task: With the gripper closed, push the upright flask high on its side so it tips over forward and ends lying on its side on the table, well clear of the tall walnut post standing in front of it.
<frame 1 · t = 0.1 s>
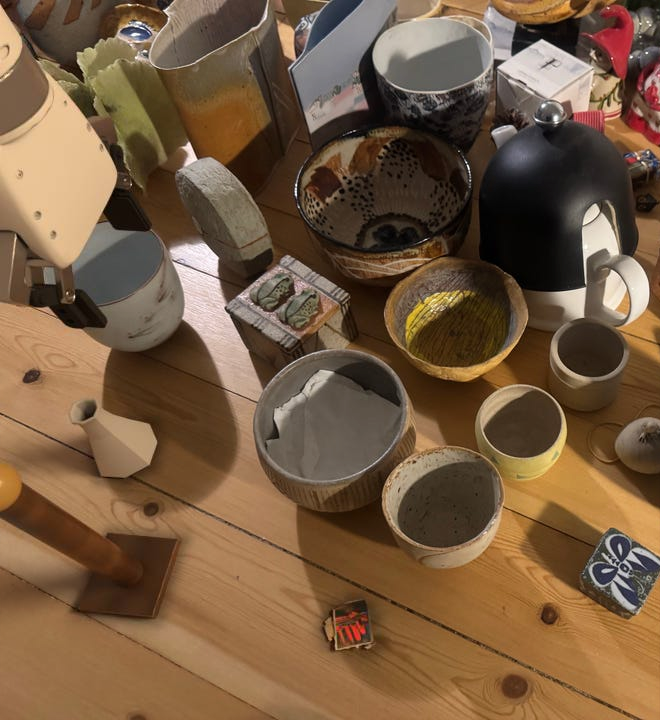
hand: (112, 273, 56), 31 cm above the table, tool pointing down, fingers open, 9 cm apart
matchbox: (350, 626, 72), on the table
flask: (127, 451, 83), on the table
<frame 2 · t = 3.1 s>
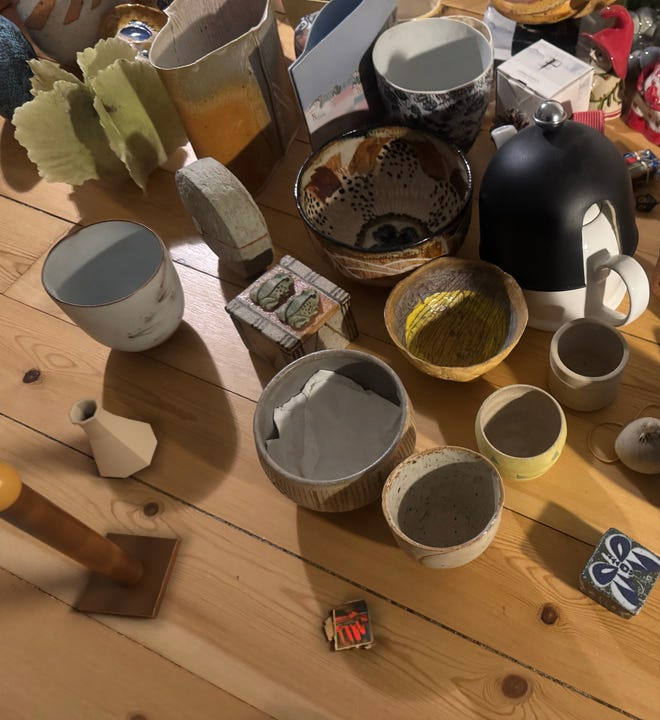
nothing on the table moved.
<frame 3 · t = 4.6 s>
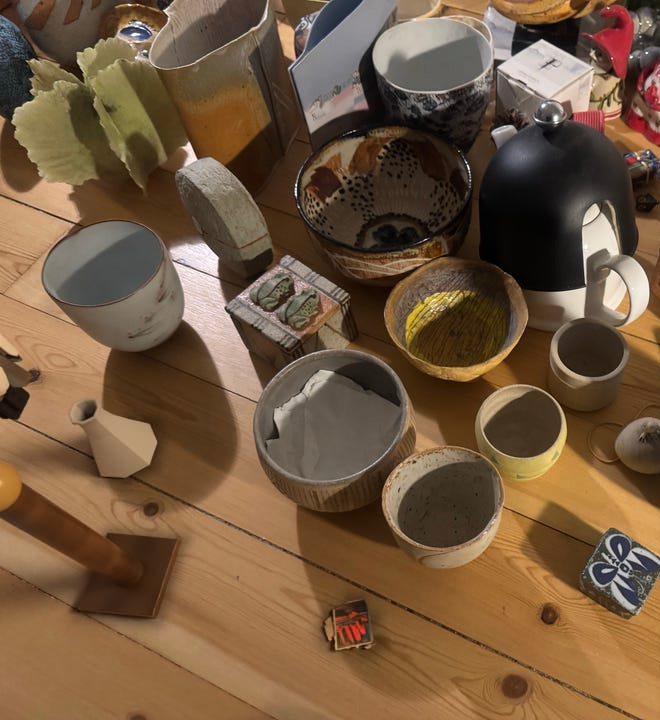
hand: (17, 407, 76), 10 cm above the table, tool pointing down, fingers closed
nothing on the table moved.
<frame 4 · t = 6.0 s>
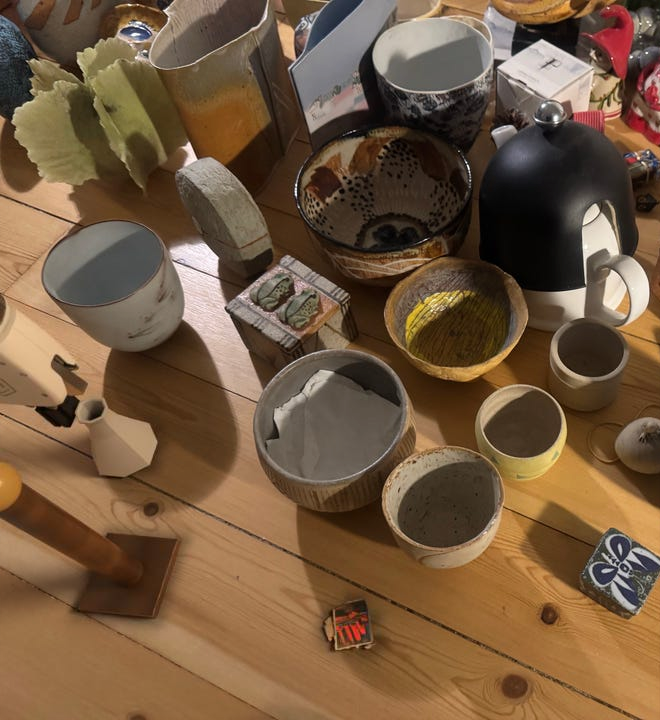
hand: (69, 415, 76), 9 cm above the table, tool pointing down, fingers closed
flask: (126, 450, 83), on the table, touching gripper
everything else where it was.
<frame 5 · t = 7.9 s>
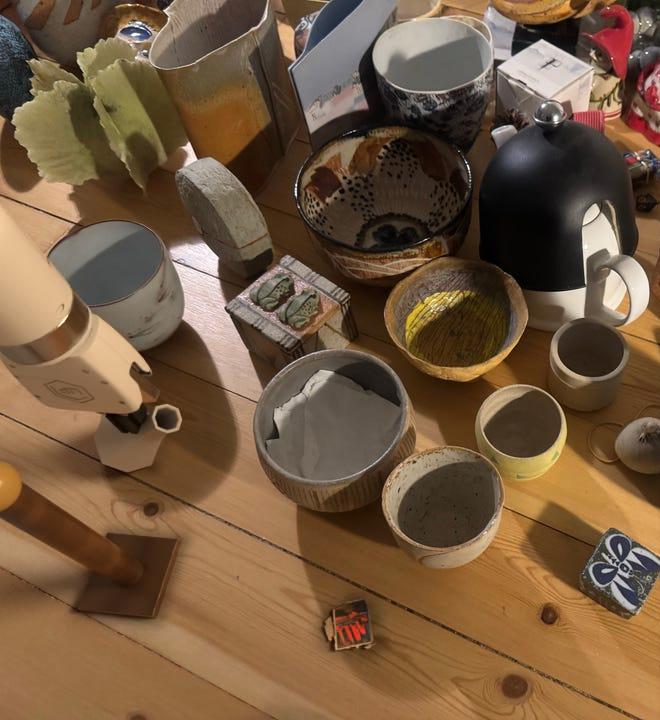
hand: (135, 421, 76), 8 cm above the table, tool pointing down, fingers closed
flask: (125, 441, 81), point 2 cm above the table
everything else where it was.
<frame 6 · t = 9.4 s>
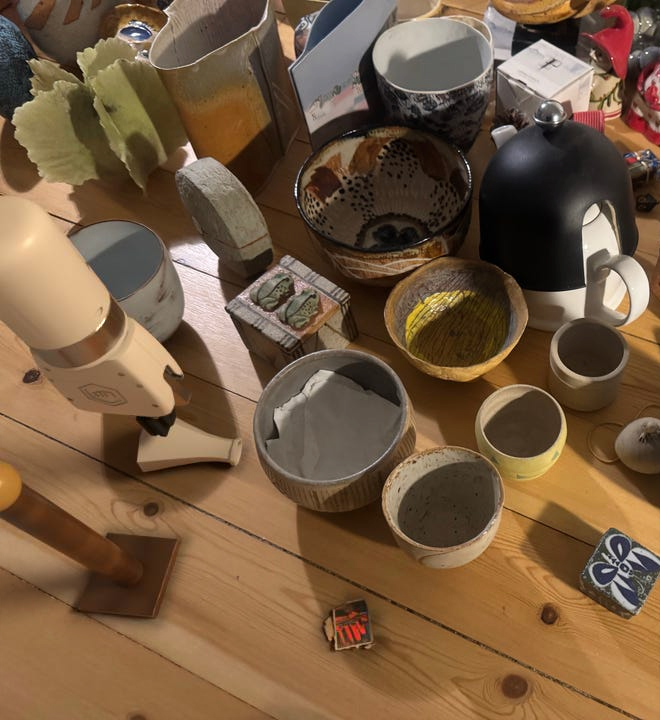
hand: (164, 424, 75), 8 cm above the table, tool pointing down, fingers closed
flask: (146, 439, 80), point 3 cm above the table
everything else where it was.
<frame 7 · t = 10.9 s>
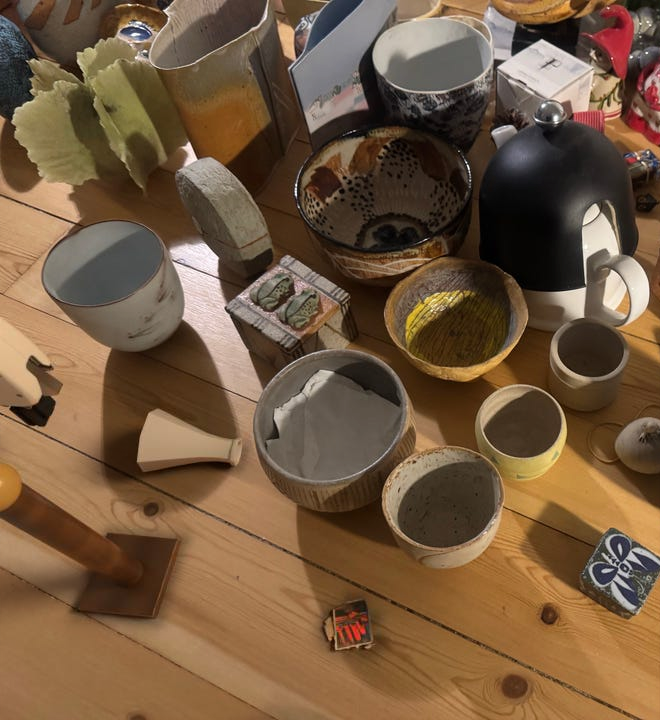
hand: (43, 414, 77), 8 cm above the table, tool pointing down, fingers closed
nothing on the table moved.
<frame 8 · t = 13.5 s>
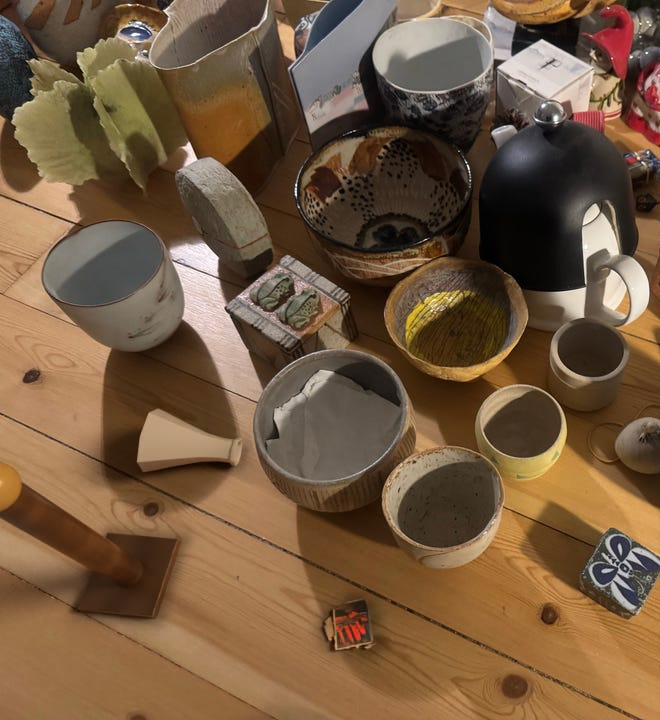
nothing on the table moved.
at the end: flask tilted 101°; flask inside the target area under the post (1.6 cm from its centre), point -20.5 cm above the post's base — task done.
